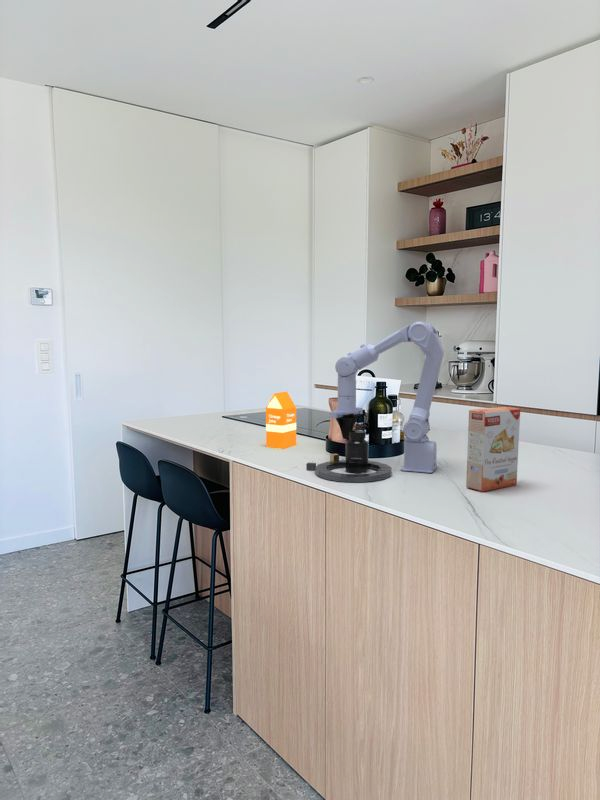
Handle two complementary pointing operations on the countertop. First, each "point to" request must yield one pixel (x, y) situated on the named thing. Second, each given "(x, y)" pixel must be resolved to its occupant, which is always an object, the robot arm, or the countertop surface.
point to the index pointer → (310, 466)
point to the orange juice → (281, 421)
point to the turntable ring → (324, 472)
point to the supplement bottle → (356, 452)
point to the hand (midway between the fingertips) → (346, 438)
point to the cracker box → (492, 448)
